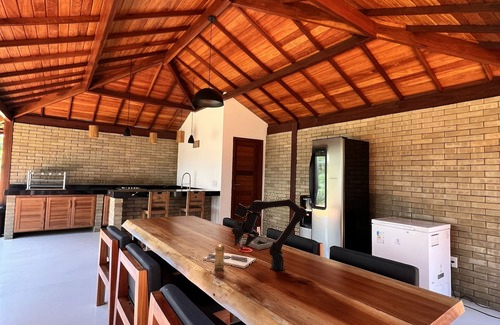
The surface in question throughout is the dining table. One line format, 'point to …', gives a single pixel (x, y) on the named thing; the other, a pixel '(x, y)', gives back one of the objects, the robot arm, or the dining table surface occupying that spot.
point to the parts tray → (259, 243)
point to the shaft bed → (232, 260)
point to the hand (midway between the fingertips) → (240, 246)
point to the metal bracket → (260, 240)
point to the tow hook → (244, 248)
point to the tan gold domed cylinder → (219, 257)
